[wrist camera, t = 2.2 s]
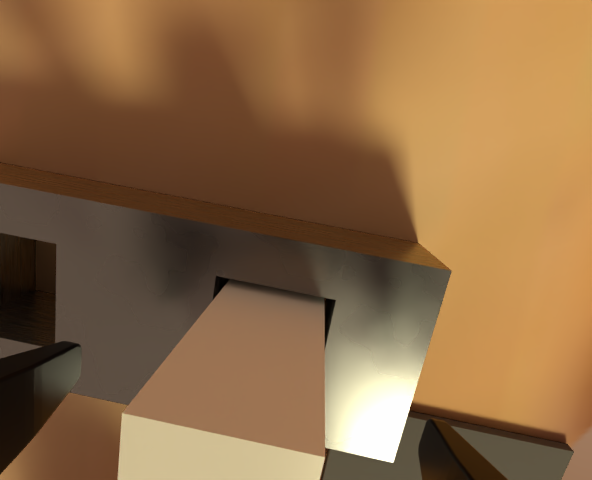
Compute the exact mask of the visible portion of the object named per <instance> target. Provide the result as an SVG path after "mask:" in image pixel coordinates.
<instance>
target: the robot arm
mask: <svg viewBox="0 0 592 480" xmlns="http://www.w3.org/2000/svg"><path fill="white" fill-rule="evenodd" d="M81 357H82V348H81V345H80V344H78V343H74V342H69V341H61V342H57V343H54V344H50V345H47V346H43V347H39V348H36V349H32V350H29V351H25V352H21V353H18V354H14V355H11V356H7V357H4V358H0V474H1V473H2V472H3V471H4V470H5V469H6V468H7V466H8V465H9V464H10V463H11V462H12V461H13V460H14V459H15V458H16V457H17V455H18V454H19V453H20V452H21V451H22V450H23V449H24V448H25V447H26V446H27V444H28V443H29V442H30V441H31V440H32V439H33V438H34V436H35V435H36V434H37V433H38V431H39V430H40V429H41V428H42V427H43V425H44V424H45V423H46V421H47V420H48V419H49V417H50V416H51V415H52V413H53V412H54V411H55V410H56V408H57V407H58V406H59V404H60V403H61V402H62V400H63V399H64V398H65V397H66V395H67V394H68V393H69V391H70V390H71V389H72V387H73V386H74V385H75V383H76V382H77V381H78V379H79V377H80V373H81ZM418 457H419V463H420V469H421V476H422V480H508V479H507V478H506V477H505V476H504V475H503V474H502V473H501V472H499V471H498V470H497V469H496V468H495V467H494V466H493V465H492V464H491V463H490V462H489V461H488V460H487V459H486V458H484V457H483V456H482V455H481V454H480V453H479V452H478V451H477V450H476V449H475V448H474V447H473V446H472V445H470V444H469V443H468V442H467V441H466V440H465V439H464V438H463V437H462V436H461V435H460V434H459V433H458V432H457V431H455V430H454V429H453V428H452V427H451V426H450V425H449V424H448V423H447V422H445V421H442V420H437V419H432V418H430V419H428V420H427V421H426V424H425V427H424V430H423V433H422V436H421V439H420V442H419V446H418Z"/></svg>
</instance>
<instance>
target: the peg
mask: <svg viewBox="0 0 592 480" xmlns="http://www.w3.org/2000/svg"><path fill="white" fill-rule="evenodd" d="M324 460H325V315H324V297H319V296H314V295H309V294H304V293H299V292H294V291H289V290H284V289H279V288H274V287H269V286H264V285H259V284H254V283H249V282H244V281H239V280H234V279H230V280H229V281H228V282H227V283H226V285H225V286H224V287H223V288H222V290H221V291H220V292H219V293H218V295H217V296H216V297H215V298H214V300H213V301H212V302H211V303H210V305H209V306H208V307H207V308H206V310H205V311H204V312H203V313H202V314H201V316H200V317H199V318H198V319H197V321H196V322H195V323H194V324H193V326H192V327H191V328H190V329H189V331H188V332H187V333H186V334H185V336H184V337H183V338H182V339H181V341H180V342H179V343H178V344H177V345H176V347H175V348H174V349H173V350H172V352H171V353H170V354H169V355H168V357H167V358H166V359H165V360H164V362H163V363H162V364H161V365H160V367H159V368H158V369H157V370H156V372H155V373H154V374H153V375H152V376H151V378H150V379H149V380H148V381H147V383H146V384H145V385H144V386H143V388H142V389H141V390H140V391H139V393H138V394H137V395H136V396H135V398H134V399H133V400H132V401H131V403H130V404H129V405H128V406H127V407H126V409H125V410H124V411H123V412H122V421H121V436H120V451H119V466H118V480H320V476H321V472H322V468H323V464H324Z"/></svg>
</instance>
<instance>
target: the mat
mask: <svg viewBox="0 0 592 480" xmlns="http://www.w3.org/2000/svg"><path fill="white" fill-rule="evenodd" d="M430 418H432V419H437V420H442V421H445V422H447V423H448V424H449V425H450V426H451V427H452V428H453V429H454V430H455V431H457V432H458V433H459V434H460V435H461V436H462V437H463V438H464V439H465V440H466V441H467V442H468V443H469V444H470V445H472V446H473V447H474V448H475V449H476V450H477V451H478V452H479V453H480V454H481V455H482V456H483V457H484V458H486V459H487V460H488V461H489V462H490V463H491V464H492V465H493V466H494V467H495V468H496V469H497V470H498V471H499V472H501V473H502V474H503V475H504V476H505V477H506V478H507V479H508V480H561V479H562V477H563V474H564V472H565V470H566V468H567V466H568V463H569V461H570V459H571V457H572V455H573V453H574V451H573V450H572V449H571V448H570V447H569V446H568V444H564V443H559V442H555V441H550V440H545V439H540V438H536V437H531V436H526V435H521V434H517V433H512V432H507V431H502V430H498V429H493V428H488V427H483V426H479V425H474V424H469V423H464V422H460V421H455V420H450V419H446V418H441V417H436V416H431V415H427V414H422V413H417V412H412V411H409V412H408V415H407V419H406V422H405V425H404V429H403V432H402V435H401V438H400V442H399V445H398V448H397V451H396V455H395V458H394V461H393V462H388V461H384V460H379V459H375V458H370V457H365V456H361V455H356V454H352V453H347V452H342V451H338V450H333V449H328V453H327V457H326V461H325V465H324V469H323V474H322V478H321V480H422V476H421V469H420V463H419V457H418V446H419V442H420V439H421V436H422V433H423V430H424V427H425V424H426V421H427V420H428V419H430Z"/></svg>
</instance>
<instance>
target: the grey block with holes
mask: <svg viewBox="0 0 592 480" xmlns="http://www.w3.org/2000/svg"><path fill="white" fill-rule="evenodd" d="M35 240H39V241H44V242H49V243H54V244H56V294H51V293H46V292H41V291H36V290H35ZM450 275H451V270H450V269H449V268H448V267H446V266H445V265H444V264H443V263H442V262H441V261H439V260H438V259H437V258H436V257H435V256H433V255H432V254H431V253H430V252H429V251H427V250H426V249H425V248H424V247H423V246H422V245H420V244H419V243H415V242H410V241H405V240H400V239H395V238H389V237H384V236H379V235H374V234H369V233H363V232H358V231H353V230H348V229H343V228H337V227H332V226H327V225H322V224H317V223H311V222H306V221H301V220H296V219H291V218H285V217H280V216H275V215H270V214H265V213H259V212H254V211H249V210H244V209H239V208H233V207H228V206H223V205H218V204H212V203H207V202H202V201H197V200H192V199H186V198H181V197H176V196H171V195H166V194H160V193H155V192H150V191H145V190H140V189H134V188H129V187H124V186H119V185H114V184H108V183H103V182H98V181H93V180H88V179H82V178H77V177H72V176H67V175H62V174H56V173H51V172H46V171H41V170H36V169H30V168H25V167H20V166H15V165H10V164H4V163H0V358H4V357H7V356H11V355H14V354H18V353H21V352H25V351H29V350H32V349H36V348H39V347H43V346H47V345H50V344H54V343H57V342H61V341H69V342H74V343H78V344H80V345H81V348H82V357H81V373H80V377H79V379H78V381H77V382H76V383H75V385H74V386H73V387H72V389H71V390H70V391H69V392H70V393H75V394H80V395H84V396H89V397H93V398H98V399H103V400H107V401H112V402H117V403H121V404H126V405H129V404H130V403H131V401H132V400H133V399H134V398H135V396H136V395H137V394H138V393H139V391H140V390H141V389H142V388H143V386H144V385H145V384H146V383H147V381H148V380H149V379H150V378H151V376H152V375H153V374H154V373H155V372H156V370H157V369H158V368H159V367H160V365H161V364H162V363H163V362H164V360H165V359H166V358H167V357H168V355H169V354H170V353H171V352H172V350H173V349H174V348H175V347H176V345H177V344H178V343H179V342H180V341H181V339H182V338H183V337H184V336H185V334H186V333H187V332H188V331H189V329H190V328H191V327H192V326H193V324H194V323H195V322H196V321H197V319H198V318H199V317H200V316H201V314H202V313H203V312H204V311H205V310H206V308H207V307H208V306H209V305H210V303H211V302H212V301H213V300H214V298H215V297H216V296H217V295H218V293H219V292H220V291H221V290H222V288H223V287H224V286H225V285H226V283H227V282H228V281H229V280H230V279H234V280H239V281H244V282H249V283H254V284H259V285H264V286H269V287H274V288H279V289H284V290H289V291H294V292H299V293H304V294H309V295H314V296H319V297H324V298H326V301H325V305H324V315H325V448H329V449H333V450H338V451H342V452H347V453H352V454H356V455H361V456H365V457H370V458H375V459H379V460H384V461H388V462H393V461H394V458H395V455H396V451H397V448H398V445H399V442H400V438H401V435H402V432H403V429H404V425H405V422H406V419H407V415H408V412H409V409H410V406H411V402H412V399H413V396H414V392H415V389H416V386H417V383H418V379H419V376H420V373H421V370H422V366H423V363H424V360H425V356H426V353H427V350H428V347H429V343H430V340H431V337H432V334H433V330H434V327H435V324H436V320H437V317H438V314H439V311H440V307H441V304H442V301H443V297H444V294H445V291H446V288H447V284H448V281H449V278H450Z"/></svg>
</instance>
